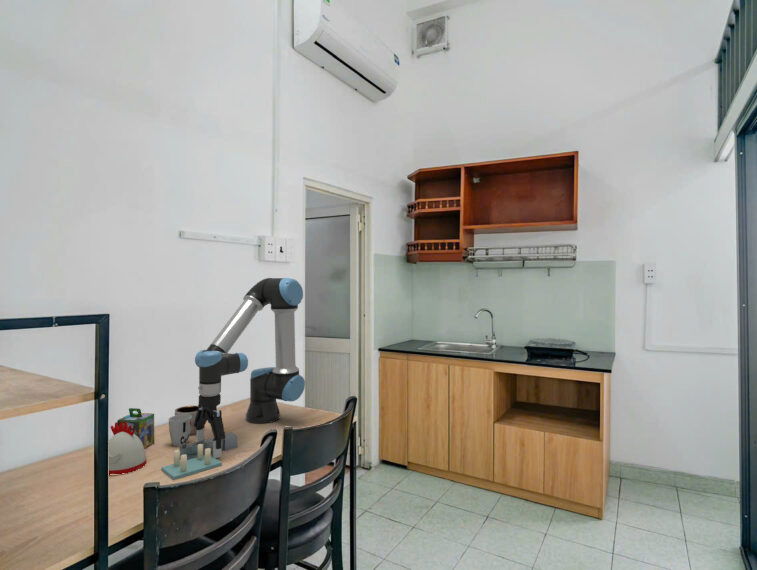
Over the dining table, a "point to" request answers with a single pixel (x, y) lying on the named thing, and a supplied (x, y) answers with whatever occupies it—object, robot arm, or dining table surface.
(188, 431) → the cup
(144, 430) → the chalk box
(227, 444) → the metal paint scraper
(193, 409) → the planter
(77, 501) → the dining table surface
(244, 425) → the dining table surface
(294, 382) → the robot arm
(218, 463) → the peg rack
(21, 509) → the dining table surface
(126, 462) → the kitchen timer
